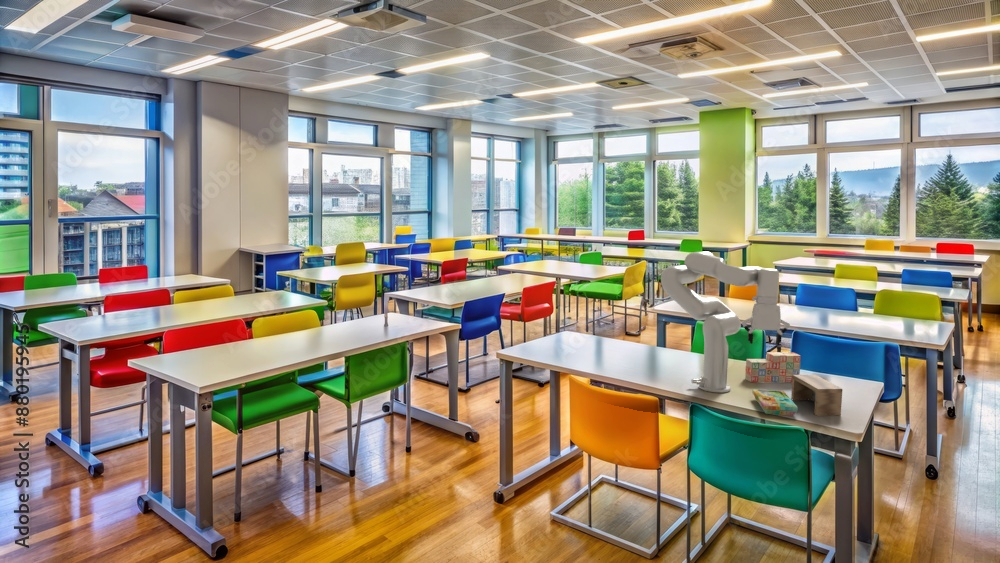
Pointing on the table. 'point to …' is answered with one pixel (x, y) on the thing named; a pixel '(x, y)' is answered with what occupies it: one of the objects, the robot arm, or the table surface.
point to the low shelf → (817, 393)
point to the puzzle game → (775, 402)
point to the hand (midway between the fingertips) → (764, 343)
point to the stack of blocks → (773, 367)
